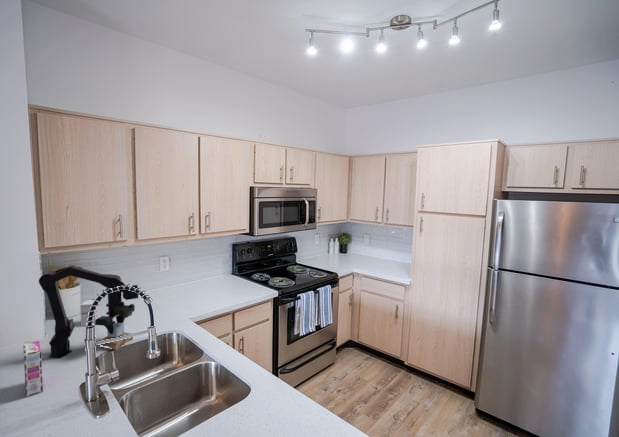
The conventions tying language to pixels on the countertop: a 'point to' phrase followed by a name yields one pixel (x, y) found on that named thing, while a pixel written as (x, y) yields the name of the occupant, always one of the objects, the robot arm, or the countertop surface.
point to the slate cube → (117, 330)
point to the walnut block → (117, 342)
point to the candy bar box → (33, 368)
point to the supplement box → (85, 309)
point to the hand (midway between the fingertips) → (115, 331)
